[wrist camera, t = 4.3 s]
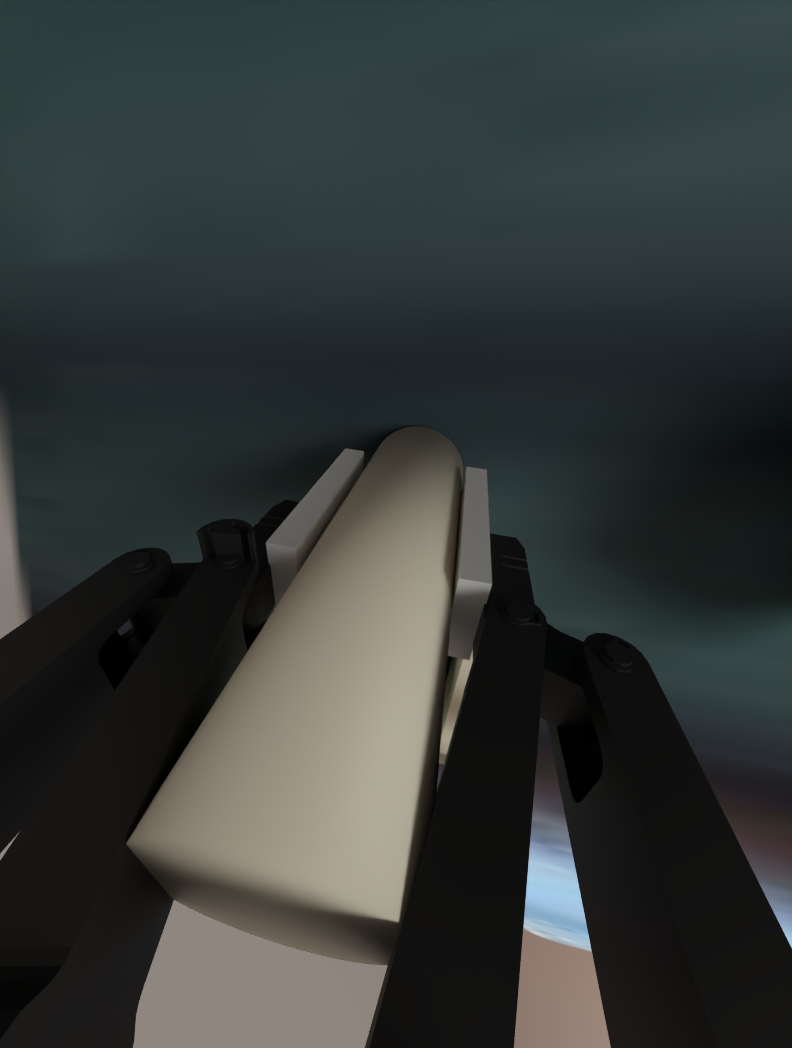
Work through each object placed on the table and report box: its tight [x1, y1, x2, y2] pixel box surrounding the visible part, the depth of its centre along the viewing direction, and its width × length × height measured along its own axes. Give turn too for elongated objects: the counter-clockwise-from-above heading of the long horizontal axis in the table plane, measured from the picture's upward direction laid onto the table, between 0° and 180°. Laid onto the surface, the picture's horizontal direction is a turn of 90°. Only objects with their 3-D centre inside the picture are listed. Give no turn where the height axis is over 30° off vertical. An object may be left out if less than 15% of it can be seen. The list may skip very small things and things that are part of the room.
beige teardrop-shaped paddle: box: [126, 427, 463, 965], centre depth 14 cm, size 16×5×14 cm, turn 175°
